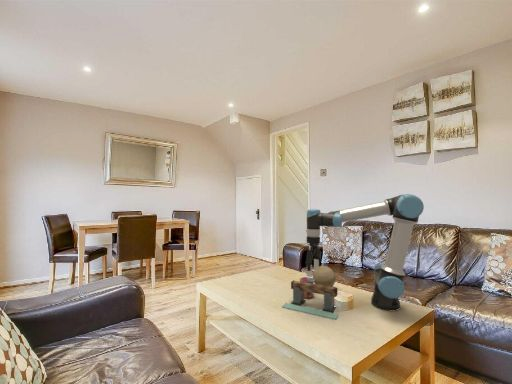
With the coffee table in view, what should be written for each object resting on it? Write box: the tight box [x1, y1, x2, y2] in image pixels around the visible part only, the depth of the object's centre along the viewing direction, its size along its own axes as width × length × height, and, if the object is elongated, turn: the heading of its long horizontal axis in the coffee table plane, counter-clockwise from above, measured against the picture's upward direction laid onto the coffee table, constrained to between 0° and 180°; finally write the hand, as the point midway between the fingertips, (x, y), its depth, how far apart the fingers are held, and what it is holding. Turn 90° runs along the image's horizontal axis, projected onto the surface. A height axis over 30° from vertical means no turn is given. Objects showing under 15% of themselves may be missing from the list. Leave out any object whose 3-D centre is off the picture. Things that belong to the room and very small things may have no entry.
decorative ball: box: [312, 265, 336, 287], centre depth 179 cm, size 15×15×15 cm
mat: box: [281, 302, 339, 320], centre depth 144 cm, size 30×6×1 cm, turn 61°
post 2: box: [321, 292, 337, 313], centre depth 147 cm, size 6×9×10 cm, turn 151°
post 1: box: [290, 286, 307, 306], centre depth 155 cm, size 6×9×10 cm, turn 151°
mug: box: [299, 276, 316, 299], centre depth 166 cm, size 12×9×11 cm
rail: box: [290, 280, 338, 298], centre depth 151 cm, size 26×4×4 cm, turn 61°
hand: (312, 273), depth 151 cm, fingers open, 13 cm apart
